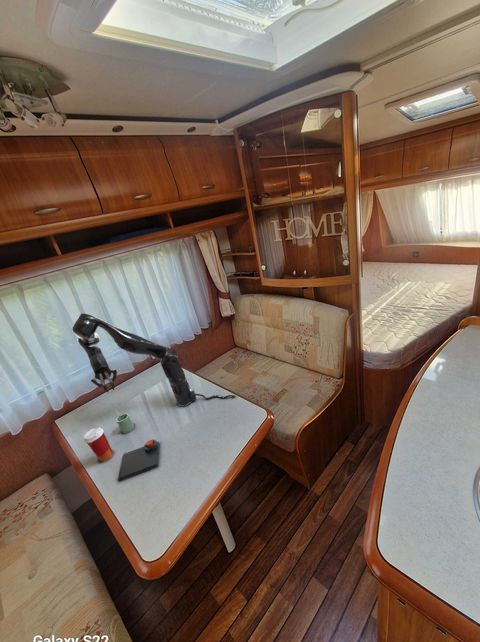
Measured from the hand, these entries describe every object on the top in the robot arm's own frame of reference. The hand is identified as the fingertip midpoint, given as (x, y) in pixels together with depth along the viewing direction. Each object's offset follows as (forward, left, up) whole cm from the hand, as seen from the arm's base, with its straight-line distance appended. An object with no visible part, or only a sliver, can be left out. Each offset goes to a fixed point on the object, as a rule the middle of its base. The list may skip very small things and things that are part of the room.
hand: (110, 390), depth 146 cm
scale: (-13, +38, -20) cm, 45 cm away
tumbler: (-3, +10, -20) cm, 23 cm away
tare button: (-18, +33, -17) cm, 41 cm away
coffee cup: (+5, +26, -20) cm, 33 cm away
